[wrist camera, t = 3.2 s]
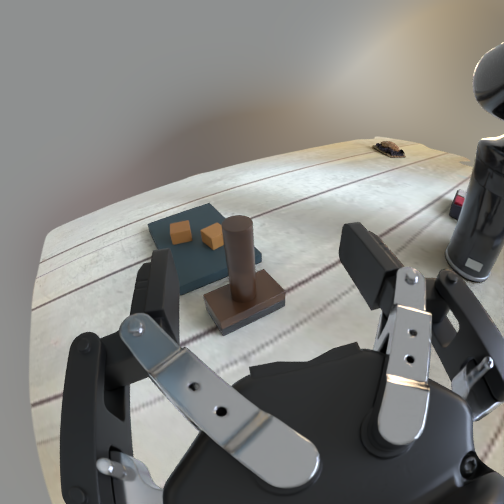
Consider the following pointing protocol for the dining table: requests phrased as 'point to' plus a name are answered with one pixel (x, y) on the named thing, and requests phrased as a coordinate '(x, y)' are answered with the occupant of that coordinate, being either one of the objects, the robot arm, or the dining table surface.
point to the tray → (194, 248)
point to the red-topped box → (457, 203)
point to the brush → (242, 281)
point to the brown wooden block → (213, 236)
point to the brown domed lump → (389, 149)
